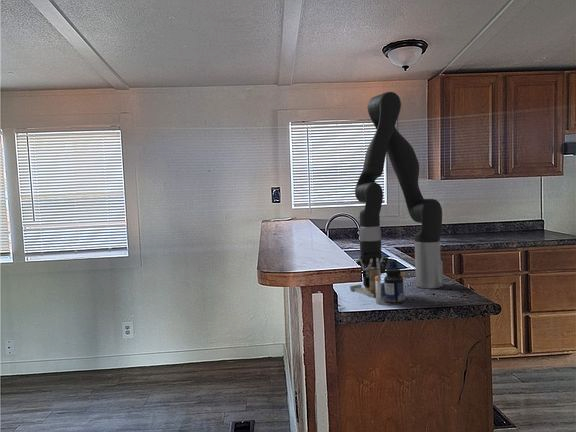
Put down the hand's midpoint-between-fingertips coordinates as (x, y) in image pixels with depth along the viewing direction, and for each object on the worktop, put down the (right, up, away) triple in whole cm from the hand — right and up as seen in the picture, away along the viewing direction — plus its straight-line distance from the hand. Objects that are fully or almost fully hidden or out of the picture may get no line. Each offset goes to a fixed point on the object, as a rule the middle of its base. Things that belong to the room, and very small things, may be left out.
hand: (372, 286), depth 161 cm
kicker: (+2, -2, -3) cm, 4 cm away
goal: (+5, -4, -9) cm, 11 cm away
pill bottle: (+5, -4, -11) cm, 13 cm away
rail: (-1, -3, +3) cm, 5 cm away
